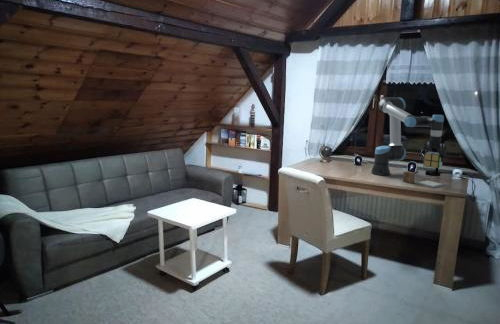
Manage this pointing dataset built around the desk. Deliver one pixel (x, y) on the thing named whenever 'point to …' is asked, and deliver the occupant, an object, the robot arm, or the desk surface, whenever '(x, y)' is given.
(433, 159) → the puzzle cube
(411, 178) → the walnut block
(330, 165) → the desk surface
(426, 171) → the desk surface
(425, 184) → the build board
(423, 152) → the robot arm
